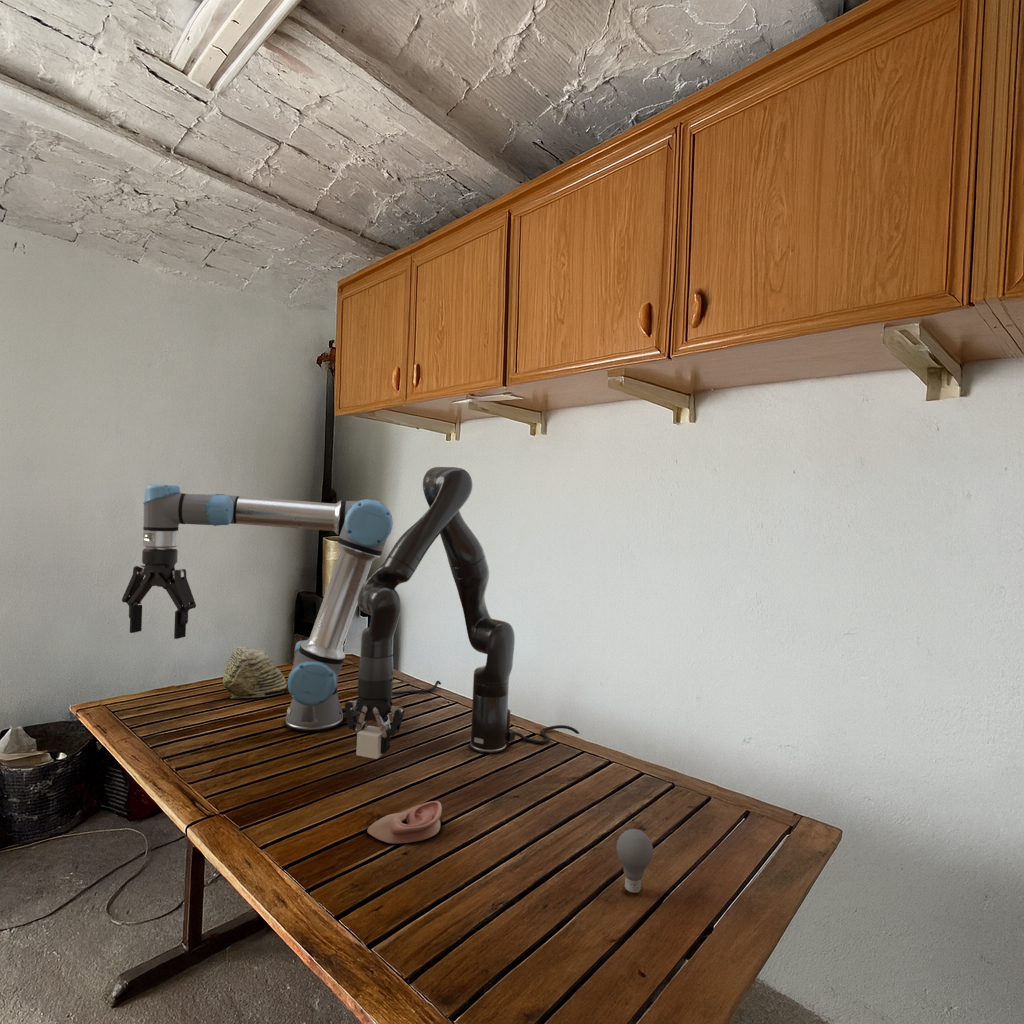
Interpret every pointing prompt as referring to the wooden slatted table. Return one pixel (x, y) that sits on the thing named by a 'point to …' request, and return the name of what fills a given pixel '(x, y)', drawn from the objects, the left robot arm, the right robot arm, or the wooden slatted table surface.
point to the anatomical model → (408, 824)
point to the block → (369, 742)
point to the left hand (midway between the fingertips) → (157, 634)
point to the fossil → (252, 674)
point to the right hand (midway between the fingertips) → (372, 750)
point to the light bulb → (634, 857)
